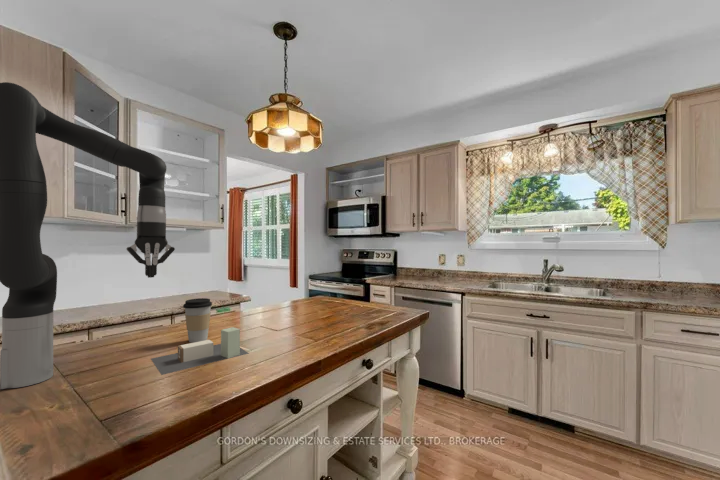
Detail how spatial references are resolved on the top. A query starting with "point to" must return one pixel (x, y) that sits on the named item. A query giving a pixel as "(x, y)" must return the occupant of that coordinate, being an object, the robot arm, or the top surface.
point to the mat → (173, 364)
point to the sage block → (230, 342)
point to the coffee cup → (197, 318)
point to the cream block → (195, 350)
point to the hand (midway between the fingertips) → (150, 277)
